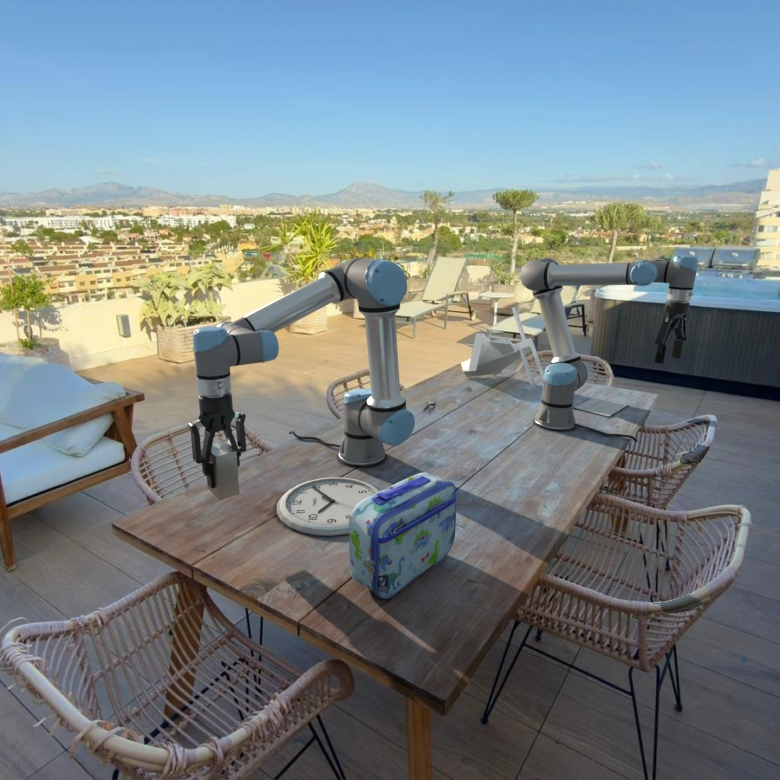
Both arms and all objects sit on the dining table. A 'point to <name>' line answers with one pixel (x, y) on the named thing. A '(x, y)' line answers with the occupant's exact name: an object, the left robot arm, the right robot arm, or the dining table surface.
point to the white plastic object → (500, 355)
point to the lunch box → (401, 532)
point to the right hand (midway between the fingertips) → (667, 360)
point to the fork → (430, 403)
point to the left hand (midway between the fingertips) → (222, 482)
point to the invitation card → (601, 406)
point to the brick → (224, 471)
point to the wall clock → (323, 505)
